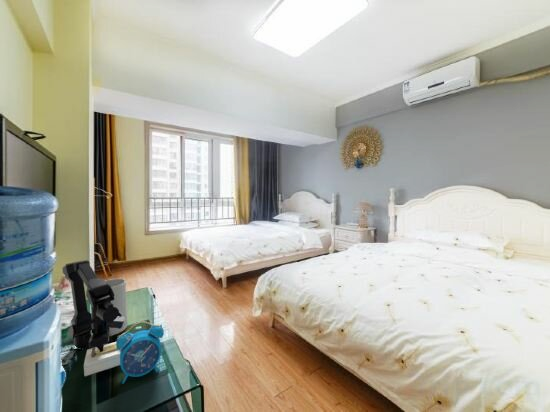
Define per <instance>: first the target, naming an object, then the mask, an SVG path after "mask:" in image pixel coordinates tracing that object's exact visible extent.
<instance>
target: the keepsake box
mask: <svg viewBox="0 0 550 412" xmlns="http://www.w3.org/2000/svg"><path fill="white" fill-rule="evenodd" d="M116 342H117V341H115V342H111V343H107V344H104V347H107V346H110V345H114V344H116ZM97 349H98V348H97V347H93V348H89V349H86V353H85V358H84V363H83V374H84V377H88V376H90V375H93V374H97V373H99V372H102V371H105V370H109V369H112V368H115V367H118V366H120V351H121V350H118V349H116V350H112V351H109V352H106V353H103V354H100V355H97V356H96V350H97Z"/></svg>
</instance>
